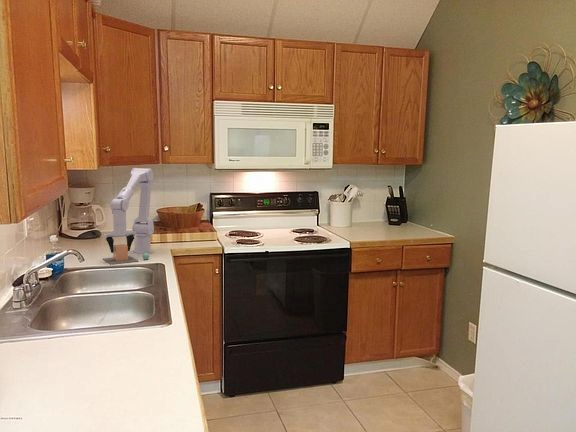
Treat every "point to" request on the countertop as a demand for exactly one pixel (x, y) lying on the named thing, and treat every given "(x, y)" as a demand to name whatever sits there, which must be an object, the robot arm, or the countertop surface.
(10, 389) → the countertop surface
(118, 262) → the mat
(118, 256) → the orange brown block
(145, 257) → the ball
